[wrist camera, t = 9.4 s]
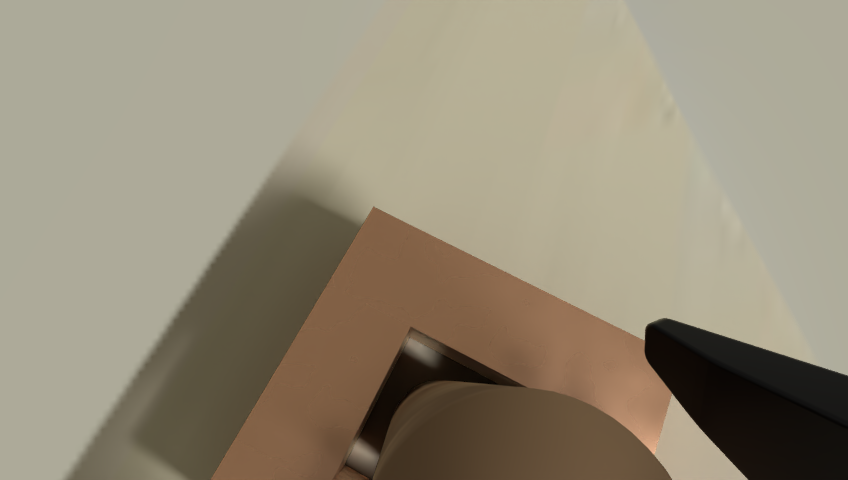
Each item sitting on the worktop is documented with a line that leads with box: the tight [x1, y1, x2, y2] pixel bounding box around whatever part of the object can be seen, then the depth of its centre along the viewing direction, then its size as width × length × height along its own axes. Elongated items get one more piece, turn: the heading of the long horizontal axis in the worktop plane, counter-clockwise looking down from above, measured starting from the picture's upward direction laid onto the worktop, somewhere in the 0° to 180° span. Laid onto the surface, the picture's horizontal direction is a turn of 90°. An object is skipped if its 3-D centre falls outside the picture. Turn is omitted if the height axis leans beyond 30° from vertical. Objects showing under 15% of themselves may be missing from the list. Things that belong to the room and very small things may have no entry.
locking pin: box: [372, 380, 672, 480], centre depth 11 cm, size 4×4×13 cm
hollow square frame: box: [211, 207, 672, 480], centre depth 15 cm, size 12×12×4 cm
